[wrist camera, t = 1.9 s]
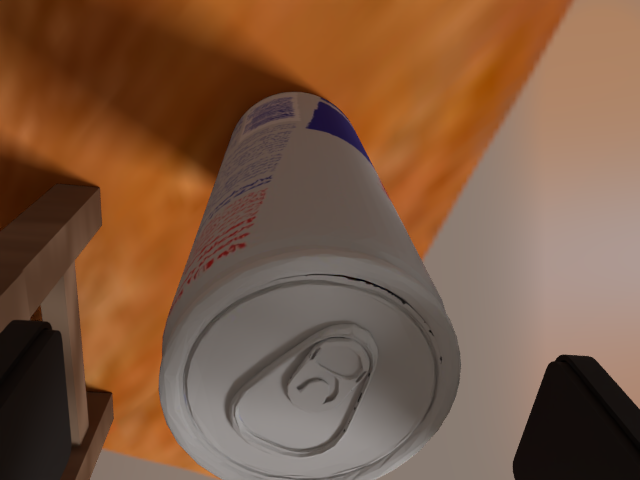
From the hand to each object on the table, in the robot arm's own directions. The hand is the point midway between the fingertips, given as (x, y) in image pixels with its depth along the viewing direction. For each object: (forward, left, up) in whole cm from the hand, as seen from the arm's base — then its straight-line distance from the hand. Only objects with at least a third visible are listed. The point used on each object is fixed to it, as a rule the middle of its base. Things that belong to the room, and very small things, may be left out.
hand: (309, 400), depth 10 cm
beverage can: (-1, 0, -15) cm, 15 cm away
